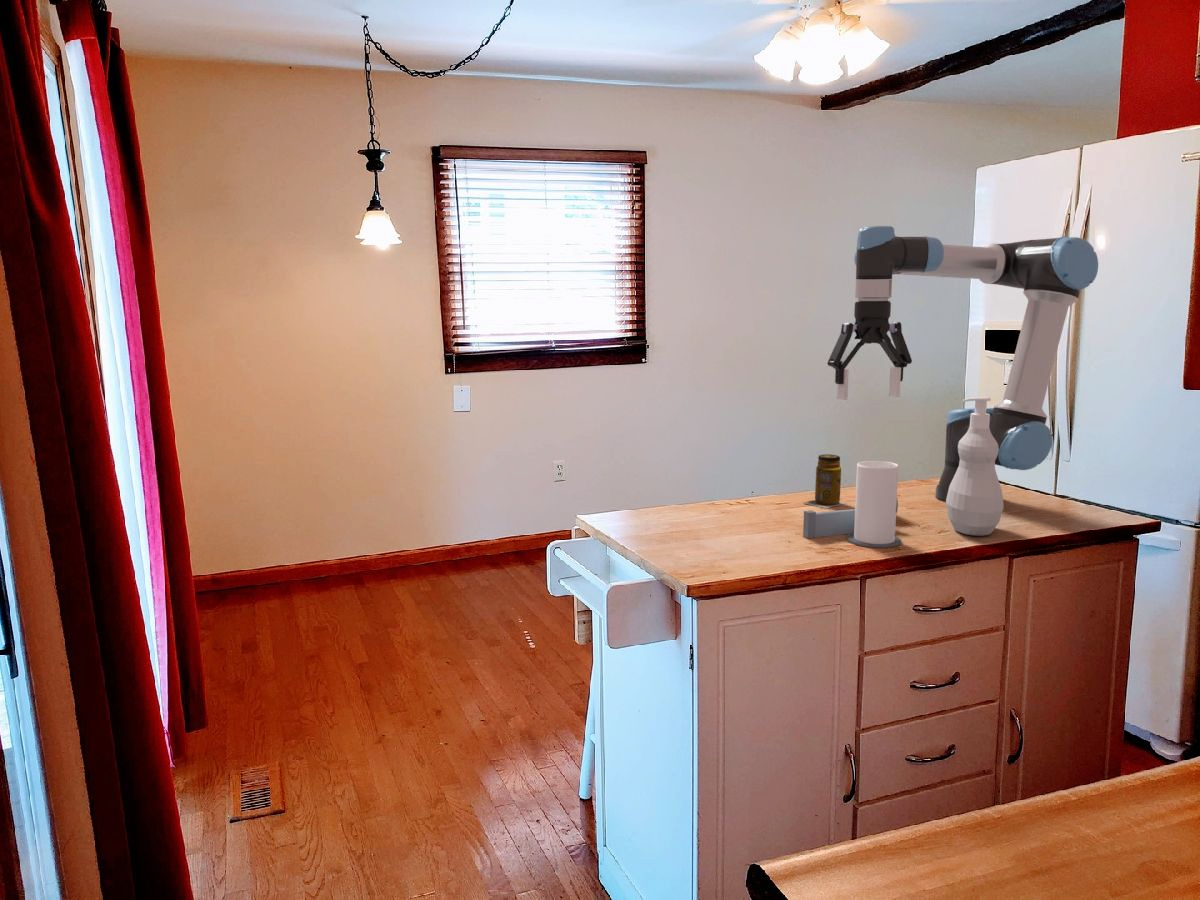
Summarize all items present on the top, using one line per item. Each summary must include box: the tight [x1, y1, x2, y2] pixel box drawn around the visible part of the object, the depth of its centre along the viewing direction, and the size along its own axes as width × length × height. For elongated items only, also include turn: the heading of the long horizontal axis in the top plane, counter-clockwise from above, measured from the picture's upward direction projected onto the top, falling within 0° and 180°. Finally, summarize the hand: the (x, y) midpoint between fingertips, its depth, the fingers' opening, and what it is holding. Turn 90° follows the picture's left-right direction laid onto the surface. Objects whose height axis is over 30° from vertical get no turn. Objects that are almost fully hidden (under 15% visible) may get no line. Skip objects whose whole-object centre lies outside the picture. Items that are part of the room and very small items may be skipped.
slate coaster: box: [846, 533, 902, 549], centre depth 188 cm, size 11×11×1 cm
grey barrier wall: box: [802, 508, 855, 539], centre depth 194 cm, size 22×2×6 cm, turn 110°
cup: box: [854, 460, 899, 544], centre depth 187 cm, size 8×8×16 cm
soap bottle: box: [945, 396, 1005, 537], centre depth 193 cm, size 17×12×29 cm
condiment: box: [803, 453, 847, 509], centre depth 221 cm, size 7×8×12 cm
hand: (868, 398), depth 196 cm, fingers open, 13 cm apart
